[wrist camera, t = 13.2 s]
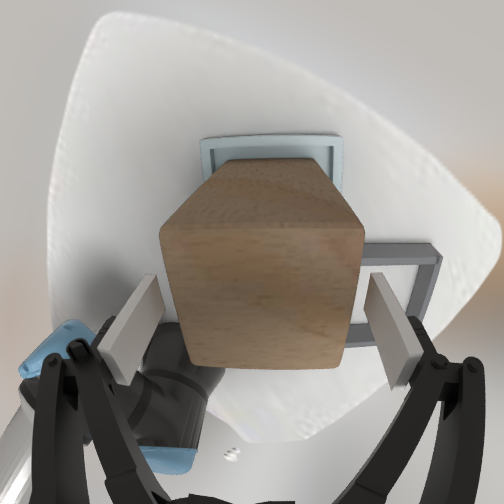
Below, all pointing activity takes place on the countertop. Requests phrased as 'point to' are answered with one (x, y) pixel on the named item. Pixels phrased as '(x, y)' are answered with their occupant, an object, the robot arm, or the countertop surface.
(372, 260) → the bay
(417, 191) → the countertop surface
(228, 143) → the tray
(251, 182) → the wooden block
